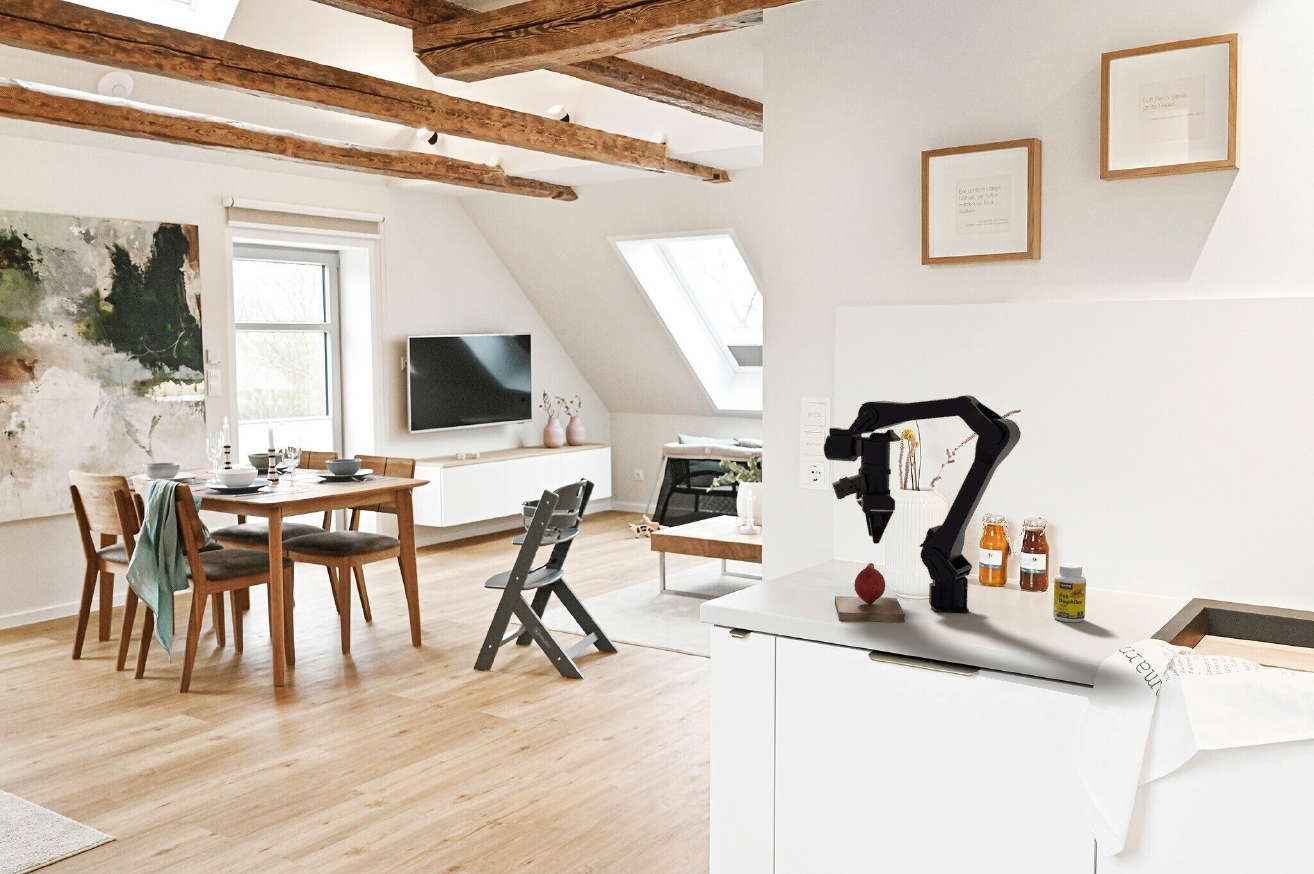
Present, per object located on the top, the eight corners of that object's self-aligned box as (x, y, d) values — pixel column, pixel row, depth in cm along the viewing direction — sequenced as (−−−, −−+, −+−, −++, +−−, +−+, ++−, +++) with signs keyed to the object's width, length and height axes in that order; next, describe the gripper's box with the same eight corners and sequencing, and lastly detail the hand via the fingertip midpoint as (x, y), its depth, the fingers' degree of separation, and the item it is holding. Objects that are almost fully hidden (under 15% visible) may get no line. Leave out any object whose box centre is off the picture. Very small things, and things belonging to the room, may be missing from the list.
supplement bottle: (1053, 621, 201) (1055, 567, 200) (1052, 615, 206) (1054, 562, 205) (1086, 624, 199) (1087, 569, 198) (1083, 617, 205) (1085, 563, 204)
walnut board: (895, 605, 214) (896, 597, 214) (904, 622, 200) (904, 614, 200) (834, 603, 215) (834, 595, 215) (839, 620, 201) (839, 612, 201)
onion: (876, 609, 204) (877, 567, 203) (849, 605, 207) (849, 563, 207) (889, 603, 208) (890, 562, 208) (862, 599, 212) (862, 559, 211)
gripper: (832, 458, 228) (831, 531, 229) (837, 467, 210) (836, 546, 211) (885, 459, 227) (884, 532, 228) (896, 467, 209) (894, 547, 210)
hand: (873, 539), depth 219 cm, fingers open, 9 cm apart
